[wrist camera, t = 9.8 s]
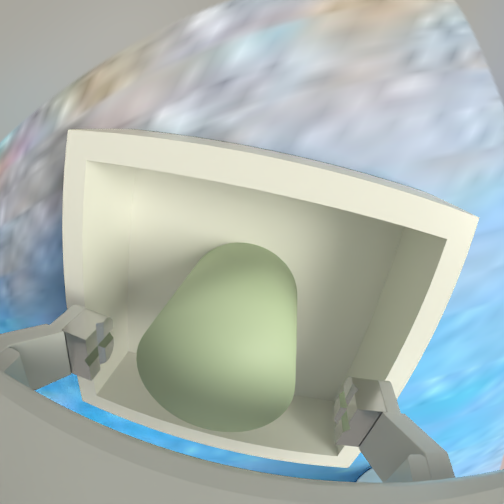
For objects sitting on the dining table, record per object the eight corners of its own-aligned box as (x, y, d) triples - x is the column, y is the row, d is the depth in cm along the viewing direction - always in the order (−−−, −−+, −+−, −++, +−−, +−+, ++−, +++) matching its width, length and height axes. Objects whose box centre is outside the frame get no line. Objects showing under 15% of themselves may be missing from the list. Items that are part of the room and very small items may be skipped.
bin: (341, 402, 18) (348, 467, 13) (121, 349, 18) (82, 400, 14) (425, 192, 13) (478, 217, 8) (132, 128, 14) (68, 129, 9)
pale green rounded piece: (309, 256, 14) (316, 335, 8) (282, 348, 16) (273, 443, 10) (197, 231, 14) (136, 291, 8) (185, 325, 16) (138, 408, 10)
